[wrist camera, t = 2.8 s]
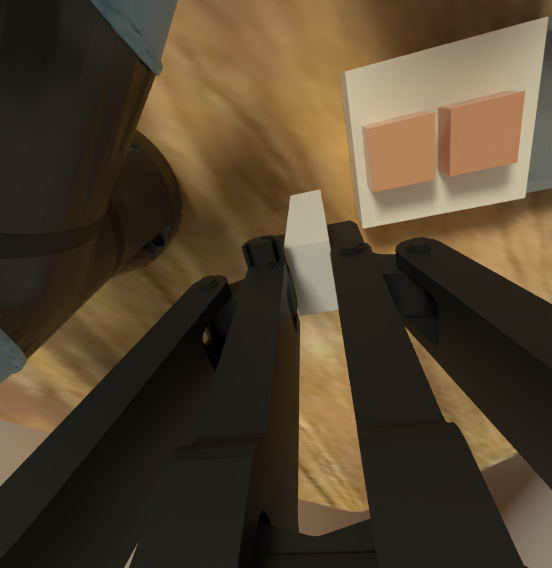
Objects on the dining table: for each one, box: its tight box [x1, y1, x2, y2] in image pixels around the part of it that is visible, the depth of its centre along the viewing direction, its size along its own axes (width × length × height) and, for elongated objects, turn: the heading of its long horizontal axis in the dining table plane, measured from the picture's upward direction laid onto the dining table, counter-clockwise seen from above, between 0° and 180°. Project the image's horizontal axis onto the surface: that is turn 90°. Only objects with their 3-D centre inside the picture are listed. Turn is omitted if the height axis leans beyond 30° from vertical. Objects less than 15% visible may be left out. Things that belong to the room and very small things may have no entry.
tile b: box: [438, 91, 525, 176], centre depth 24 cm, size 4×4×2 cm
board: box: [340, 16, 549, 229], centre depth 27 cm, size 13×12×4 cm
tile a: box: [361, 111, 435, 192], centre depth 25 cm, size 4×4×2 cm
